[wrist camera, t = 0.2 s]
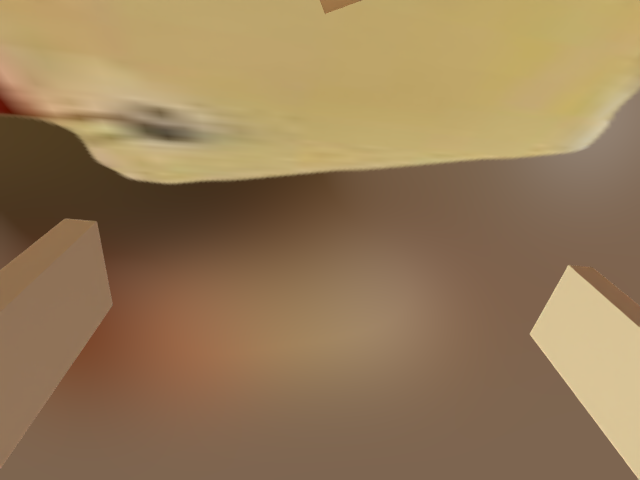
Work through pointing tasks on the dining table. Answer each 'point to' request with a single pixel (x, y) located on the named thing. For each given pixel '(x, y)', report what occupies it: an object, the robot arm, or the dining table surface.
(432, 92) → the dining table surface
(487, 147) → the dining table surface
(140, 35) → the dining table surface
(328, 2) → the wooden block
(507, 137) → the dining table surface
